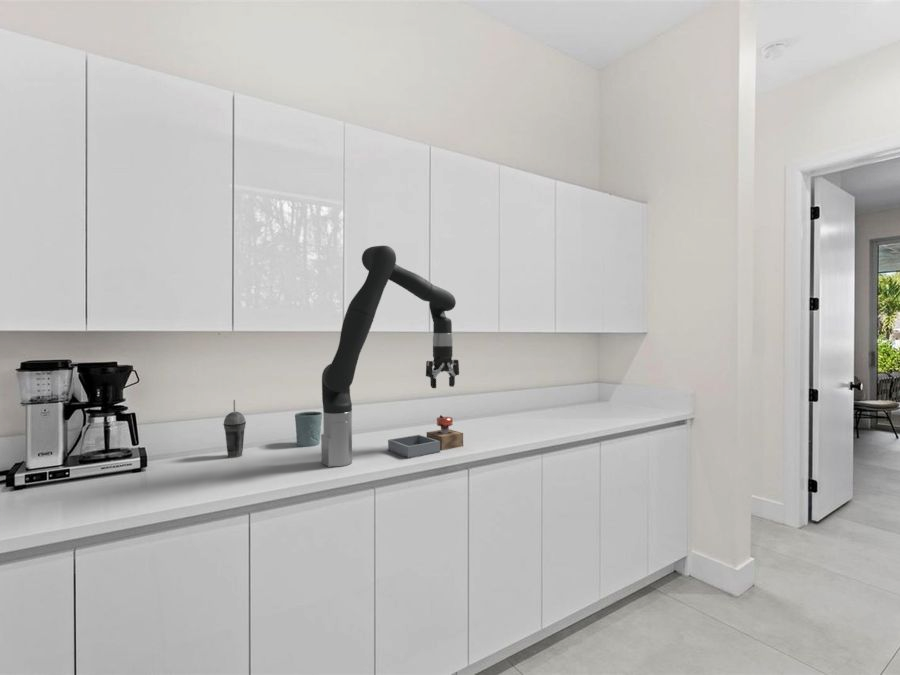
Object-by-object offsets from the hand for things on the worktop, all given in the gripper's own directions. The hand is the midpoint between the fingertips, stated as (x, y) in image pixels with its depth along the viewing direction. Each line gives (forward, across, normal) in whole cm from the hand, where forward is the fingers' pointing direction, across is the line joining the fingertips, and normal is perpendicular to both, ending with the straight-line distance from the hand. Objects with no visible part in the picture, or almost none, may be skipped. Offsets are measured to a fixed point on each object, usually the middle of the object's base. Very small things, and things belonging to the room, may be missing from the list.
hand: (442, 387), depth 179 cm
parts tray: (+22, -14, -1) cm, 26 cm away
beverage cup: (+22, -66, +34) cm, 78 cm away
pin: (+22, 0, -1) cm, 22 cm away
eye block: (+22, 0, -1) cm, 22 cm away
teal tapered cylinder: (+22, -40, +35) cm, 57 cm away
